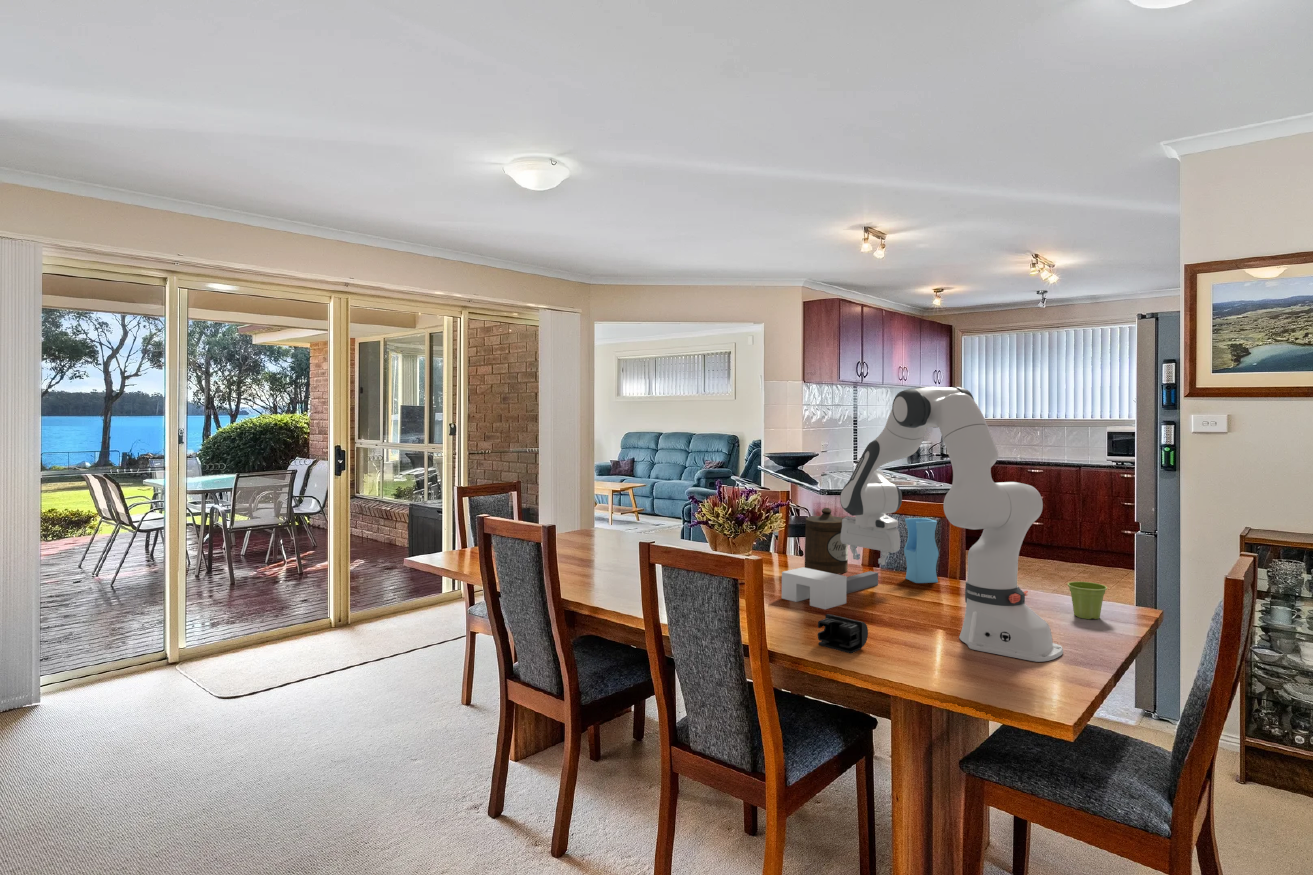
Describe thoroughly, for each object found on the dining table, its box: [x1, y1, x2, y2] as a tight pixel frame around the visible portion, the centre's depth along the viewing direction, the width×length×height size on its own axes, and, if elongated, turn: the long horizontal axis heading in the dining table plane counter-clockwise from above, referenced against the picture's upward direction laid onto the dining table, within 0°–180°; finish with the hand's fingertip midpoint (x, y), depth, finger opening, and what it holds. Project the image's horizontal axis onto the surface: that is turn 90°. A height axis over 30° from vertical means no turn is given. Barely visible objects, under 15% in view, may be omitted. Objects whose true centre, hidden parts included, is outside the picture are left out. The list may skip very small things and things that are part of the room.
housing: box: [781, 566, 848, 610], centre depth 217 cm, size 16×10×8 cm, turn 40°
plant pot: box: [1067, 581, 1108, 620], centre depth 200 cm, size 9×9×9 cm
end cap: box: [817, 613, 869, 654], centre depth 176 cm, size 10×7×7 cm
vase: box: [903, 517, 940, 584], centre depth 243 cm, size 8×8×20 cm
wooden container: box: [804, 507, 849, 575], centre depth 258 cm, size 15×15×22 cm
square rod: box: [846, 570, 879, 595], centre depth 229 cm, size 4×26×4 cm, turn 130°
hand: (868, 561), depth 236 cm, fingers open, 8 cm apart
